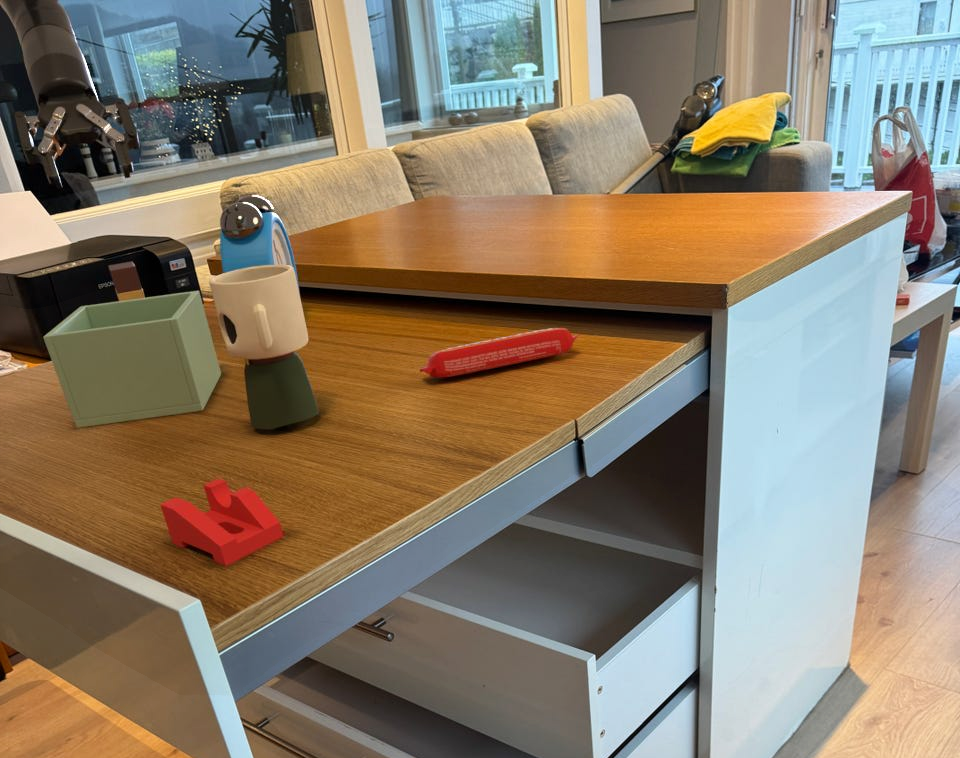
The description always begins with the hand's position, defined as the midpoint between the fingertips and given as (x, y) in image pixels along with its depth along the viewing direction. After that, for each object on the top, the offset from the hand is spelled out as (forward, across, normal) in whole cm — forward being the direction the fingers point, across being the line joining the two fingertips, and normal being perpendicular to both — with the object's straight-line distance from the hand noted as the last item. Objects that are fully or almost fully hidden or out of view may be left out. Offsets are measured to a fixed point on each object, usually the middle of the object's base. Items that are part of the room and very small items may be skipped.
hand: (93, 178), depth 115 cm
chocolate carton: (+21, 0, +5) cm, 21 cm away
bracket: (+69, 0, -43) cm, 81 cm away
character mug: (+53, +9, -28) cm, 61 cm away
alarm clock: (+28, +15, -2) cm, 32 cm away
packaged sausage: (+52, +31, -27) cm, 67 cm away
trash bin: (+41, -1, -16) cm, 44 cm away
